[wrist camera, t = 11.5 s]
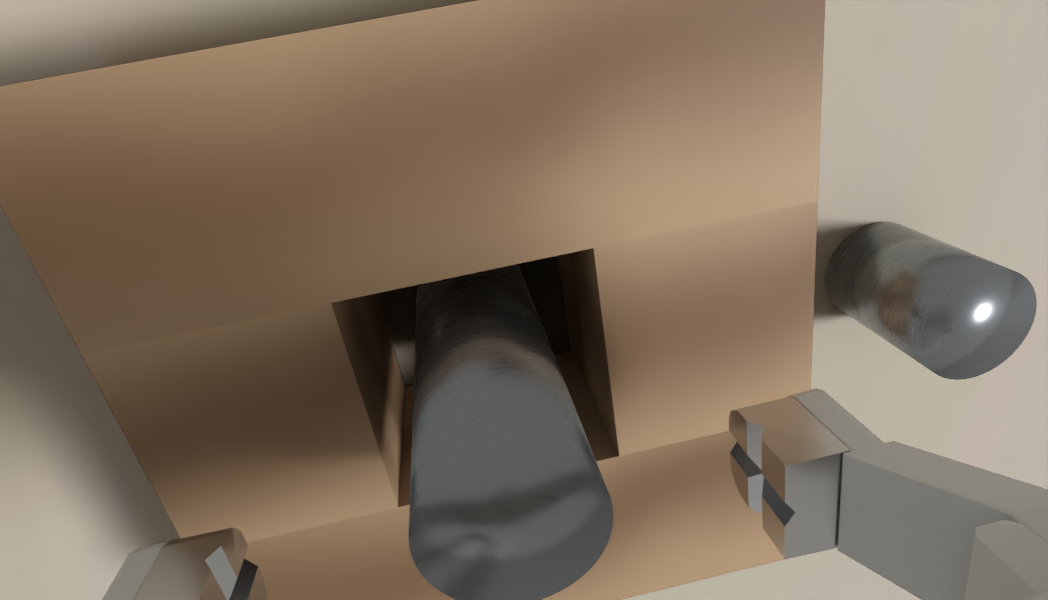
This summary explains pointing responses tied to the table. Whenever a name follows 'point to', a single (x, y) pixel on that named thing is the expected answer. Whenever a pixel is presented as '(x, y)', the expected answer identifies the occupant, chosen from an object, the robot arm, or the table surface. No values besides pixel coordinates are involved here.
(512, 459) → the tall pin
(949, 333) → the short pin
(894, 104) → the table surface
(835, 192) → the table surface
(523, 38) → the hole block
